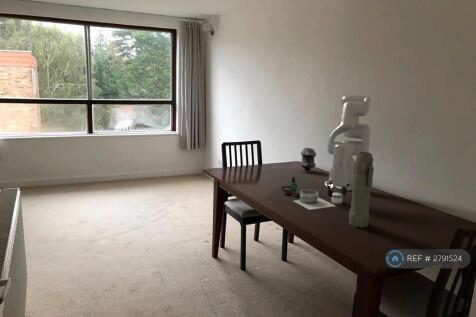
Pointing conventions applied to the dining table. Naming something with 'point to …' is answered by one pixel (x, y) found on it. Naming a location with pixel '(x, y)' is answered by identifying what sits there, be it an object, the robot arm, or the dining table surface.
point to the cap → (336, 198)
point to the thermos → (361, 190)
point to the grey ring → (308, 196)
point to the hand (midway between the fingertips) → (336, 195)
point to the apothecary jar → (308, 160)
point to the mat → (319, 204)
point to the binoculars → (293, 188)
